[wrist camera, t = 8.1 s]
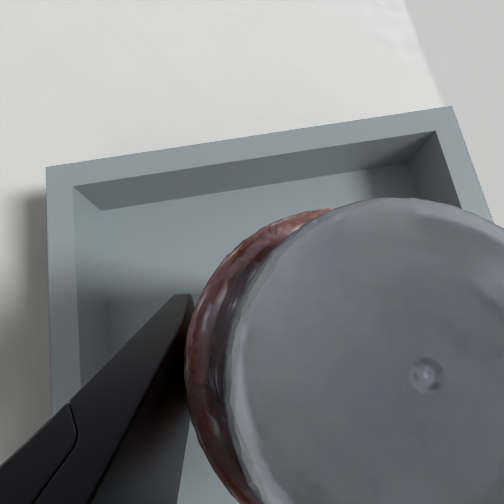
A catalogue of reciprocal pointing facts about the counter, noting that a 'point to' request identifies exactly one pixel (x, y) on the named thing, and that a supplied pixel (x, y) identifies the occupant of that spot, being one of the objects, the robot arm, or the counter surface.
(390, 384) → the supplement bottle
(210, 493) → the gray square tray
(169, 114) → the counter surface
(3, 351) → the counter surface
